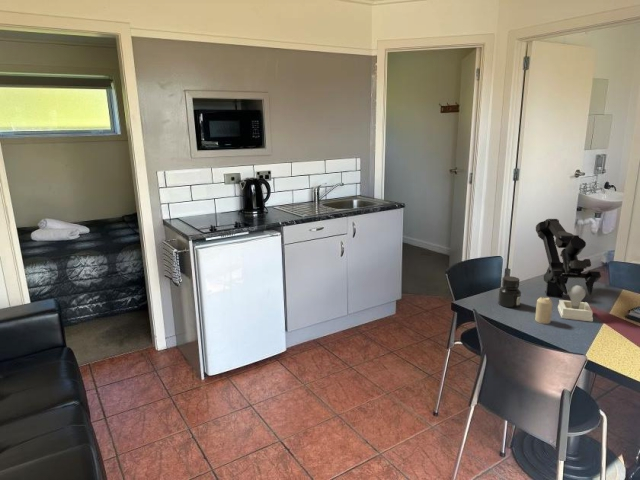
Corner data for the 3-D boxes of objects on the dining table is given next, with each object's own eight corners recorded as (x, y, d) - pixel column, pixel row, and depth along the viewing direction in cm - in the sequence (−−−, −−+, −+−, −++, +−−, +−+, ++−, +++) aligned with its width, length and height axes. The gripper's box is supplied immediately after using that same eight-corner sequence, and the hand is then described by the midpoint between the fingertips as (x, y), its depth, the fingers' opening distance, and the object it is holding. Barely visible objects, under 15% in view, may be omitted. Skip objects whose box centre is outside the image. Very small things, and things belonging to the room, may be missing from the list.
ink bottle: (523, 308, 191) (525, 282, 188) (502, 308, 191) (504, 282, 189) (514, 300, 201) (516, 275, 198) (494, 300, 201) (496, 275, 198)
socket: (561, 318, 181) (562, 308, 180) (557, 308, 191) (558, 299, 190) (592, 321, 177) (593, 312, 176) (586, 311, 187) (588, 302, 186)
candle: (549, 319, 180) (551, 296, 178) (551, 324, 175) (554, 300, 172) (534, 317, 182) (536, 294, 179) (535, 323, 177) (538, 299, 174)
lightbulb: (564, 307, 187) (566, 282, 184) (580, 308, 186) (583, 283, 183) (569, 313, 181) (571, 288, 178) (585, 314, 180) (588, 288, 177)
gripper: (553, 251, 183) (560, 285, 175) (602, 251, 180) (612, 286, 172) (545, 263, 192) (551, 296, 184) (591, 264, 190) (599, 298, 182)
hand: (578, 294), depth 180 cm, fingers open, 9 cm apart
